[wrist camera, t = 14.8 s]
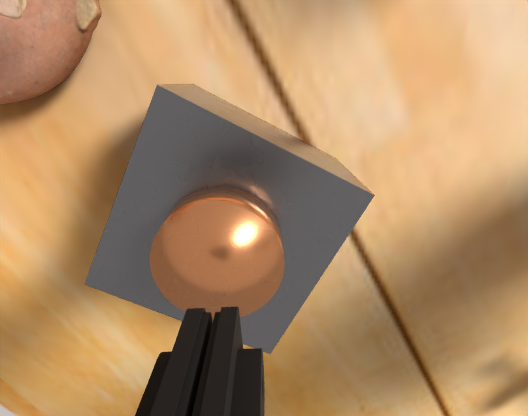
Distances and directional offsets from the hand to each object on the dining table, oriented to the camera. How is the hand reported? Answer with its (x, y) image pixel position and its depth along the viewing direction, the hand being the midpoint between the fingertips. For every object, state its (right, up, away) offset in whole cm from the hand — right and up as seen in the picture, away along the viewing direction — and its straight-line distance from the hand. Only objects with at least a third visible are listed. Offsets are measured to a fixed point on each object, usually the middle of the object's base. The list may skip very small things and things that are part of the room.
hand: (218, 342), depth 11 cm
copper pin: (-1, +5, +14) cm, 16 cm away
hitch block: (-1, +6, +15) cm, 17 cm away
